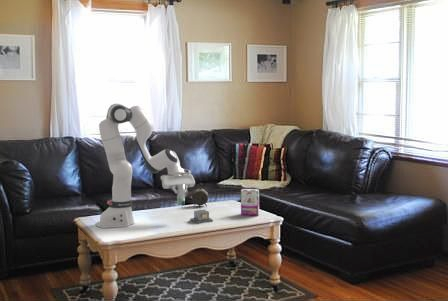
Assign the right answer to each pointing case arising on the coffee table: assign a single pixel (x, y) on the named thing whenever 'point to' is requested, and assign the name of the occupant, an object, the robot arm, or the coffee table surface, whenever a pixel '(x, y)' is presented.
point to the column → (181, 194)
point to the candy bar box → (250, 202)
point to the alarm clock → (200, 196)
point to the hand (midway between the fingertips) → (181, 192)
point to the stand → (201, 216)
